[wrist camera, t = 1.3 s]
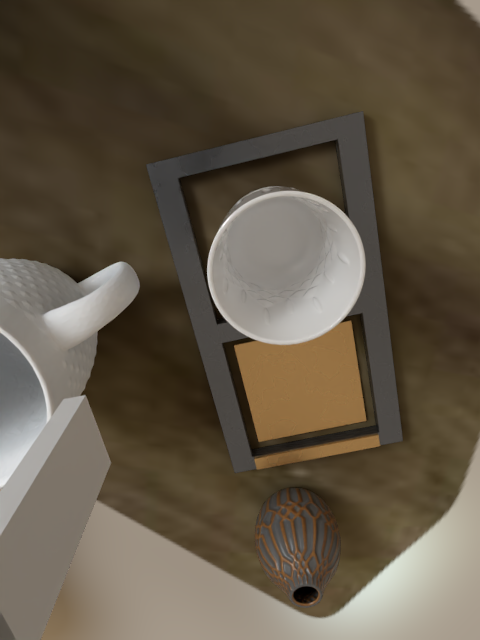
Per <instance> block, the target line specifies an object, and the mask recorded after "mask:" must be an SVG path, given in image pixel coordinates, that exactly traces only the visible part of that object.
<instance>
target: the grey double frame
mask: <svg viewBox="0 0 480 640" xmlns="http://www.w3.org/2000/svg"><path fill="white" fill-rule="evenodd" d="M332 140H335V144H336V151H337V158H338V165H339V172H340V179H341V186H342V193H343V200H344V207H345V213H346V216H347V217H348V218H349V219H350V220H351V222H352V223H353V225H354V226H355V228H356V229H357V231H358V233H359V236H360V238H361V241H362V244H363V247H364V252H365V261H366V268H365V278H364V283H363V286H362V290H361V292H360V295H359V297H358V299H357V301H356V303H355V305H354V306H353V308H352V309H351V311H350V312H349V313H348V315H347V316H351V315H356V314H360V317H361V324H362V331H363V338H364V345H365V352H366V359H367V366H368V373H369V380H370V387H371V394H372V401H373V408H374V415H375V422H376V425H375V426H370V427H365V428H360V429H354V430H349V431H344V432H339V433H334V434H329V435H324V436H318V437H313V438H308V439H303V440H298V441H293V442H288V443H282V444H277V445H272V446H267V447H262V448H257V449H251V445H250V441H249V437H248V433H247V430H246V426H245V422H244V418H243V415H242V411H241V407H240V403H239V400H238V396H237V392H236V388H235V384H234V381H233V377H232V373H231V369H230V366H229V362H228V358H227V354H226V351H225V347H224V342H229V341H234V340H238V339H243V338H248V336H246V335H244V334H242V333H241V332H239V331H238V330H236V329H235V328H234V327H233V326H232V325H230V324H229V323H228V322H227V320H226V319H225V318H224V319H219V320H217V317H216V313H215V309H214V305H213V302H212V298H211V294H210V290H209V286H208V283H207V279H206V275H205V271H204V268H203V264H202V260H201V256H200V253H199V249H198V245H197V241H196V237H195V234H194V230H193V226H192V222H191V219H190V215H189V211H188V207H187V204H186V200H185V196H184V192H183V188H182V185H181V181H180V177H184V176H188V175H193V174H197V173H201V172H205V171H209V170H213V169H217V168H221V167H225V166H230V165H234V164H238V163H242V162H246V161H250V160H254V159H258V158H262V157H267V156H271V155H275V154H279V153H283V152H287V151H291V150H295V149H299V148H304V147H308V146H312V145H316V144H320V143H324V142H328V141H332ZM146 166H147V170H148V173H149V177H150V180H151V183H152V187H153V190H154V194H155V197H156V201H157V204H158V208H159V211H160V215H161V218H162V222H163V225H164V229H165V232H166V236H167V239H168V243H169V246H170V250H171V253H172V256H173V260H174V263H175V267H176V270H177V274H178V277H179V281H180V284H181V288H182V291H183V295H184V298H185V302H186V305H187V309H188V312H189V316H190V319H191V322H192V326H193V329H194V333H195V336H196V340H197V343H198V347H199V350H200V354H201V357H202V361H203V364H204V368H205V371H206V375H207V378H208V382H209V385H210V389H211V392H212V395H213V399H214V402H215V406H216V409H217V413H218V416H219V420H220V423H221V427H222V430H223V434H224V437H225V441H226V444H227V448H228V451H229V455H230V458H231V461H232V465H233V468H234V472H235V473H238V472H243V471H248V470H254V469H257V470H258V469H263V468H269V467H274V466H279V465H284V464H290V463H295V462H300V461H305V460H310V459H316V458H321V457H326V456H331V455H337V454H342V453H347V452H352V451H358V450H363V449H368V448H373V447H378V446H380V445H384V444H390V443H395V442H400V441H403V438H402V429H401V421H400V413H399V405H398V396H397V388H396V380H395V372H394V363H393V355H392V347H391V338H390V330H389V322H388V314H387V305H386V297H385V289H384V281H383V272H382V264H381V256H380V248H379V239H378V231H377V223H376V215H375V206H374V198H373V190H372V182H371V173H370V165H369V157H368V148H367V140H366V132H365V124H364V115H363V111H362V112H358V113H353V114H349V115H345V116H341V117H337V118H333V119H329V120H325V121H321V122H317V123H313V124H309V125H305V126H301V127H297V128H293V129H289V130H285V131H281V132H276V133H272V134H268V135H264V136H260V137H256V138H252V139H248V140H244V141H240V142H236V143H232V144H228V145H224V146H220V147H216V148H212V149H208V150H204V151H199V152H195V153H191V154H187V155H183V156H179V157H175V158H171V159H167V160H163V161H159V162H155V163H151V164H147V165H146ZM234 348H235V352H236V356H237V359H238V363H239V367H240V371H241V375H242V379H243V383H244V387H245V391H246V395H247V398H248V402H249V406H250V410H251V414H252V418H253V422H254V426H255V430H256V433H257V437H258V441H259V442H261V441H266V440H271V439H276V438H281V437H287V436H292V435H297V434H302V433H307V432H312V431H317V430H322V429H327V428H333V427H338V426H343V425H348V424H353V423H358V422H363V421H366V414H365V408H364V401H363V395H362V388H361V382H360V375H359V368H358V362H357V355H356V349H355V342H354V336H353V329H352V323H351V320H347V321H342V322H340V323H339V324H338V325H337V326H336V327H334V328H333V329H332V330H330V331H329V332H327V333H325V334H324V335H322V336H320V337H318V338H315V339H313V340H310V341H307V342H303V343H299V344H292V345H275V344H268V343H264V342H260V341H257V340H253V341H248V342H243V343H239V344H234Z"/></svg>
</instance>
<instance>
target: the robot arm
mask: <svg viewBox="0 0 480 640" xmlns="http://www.w3.org/2000/svg"><path fill="white" fill-rule="evenodd" d="M110 464H111V461H110V459H109V456H108V453H107V451H106V448H105V445H104V443H103V440H102V437H101V435H100V432H99V429H98V427H97V424H96V421H95V419H94V416H93V413H92V410H91V408H90V405H89V402H88V400H87V397H86V395H83V396H78V397H73V398H67V399H63V401H62V402H61V404H60V405H59V406H58V408H57V409H56V411H55V412H54V414H53V415H52V417H51V418H50V420H49V421H48V423H47V424H46V425H45V427H44V428H43V430H42V431H41V433H40V434H39V436H38V437H37V439H36V440H35V441H34V443H33V444H32V446H31V447H30V449H29V450H28V452H27V453H26V455H25V456H24V458H23V459H22V460H21V462H20V463H19V465H18V466H17V468H16V469H15V471H14V472H13V474H12V475H11V477H10V478H9V479H8V481H7V482H6V484H5V485H4V487H3V488H2V490H1V491H0V640H41V637H42V635H43V632H44V630H45V627H46V625H47V622H48V620H49V617H50V615H51V612H52V609H53V607H54V605H55V602H56V600H57V597H58V594H59V592H60V590H61V587H62V585H63V582H64V579H65V577H66V574H67V572H68V569H69V567H70V564H71V562H72V559H73V557H74V554H75V552H76V549H77V547H78V544H79V541H80V539H81V537H82V534H83V532H84V529H85V527H86V524H87V522H88V519H89V517H90V514H91V512H92V509H93V507H94V504H95V502H96V499H97V497H98V494H99V492H100V489H101V487H102V484H103V481H104V479H105V476H106V474H107V471H108V469H109V466H110Z"/></svg>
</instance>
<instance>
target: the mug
mask: <svg viewBox="0 0 480 640" xmlns="http://www.w3.org/2000/svg"><path fill="white" fill-rule="evenodd" d="M139 287H140V284H139V279H138V277H137V275H136V273H135V271H134V270H133V268H132V267H131V266H130V265H129V264H127V263H125V262H118V263H115V264H113V265H110V266H108V267H107V268H105V269H103V270H101V271H99V272H97V273H95V274H94V275H92V276H90V277H88V278H86V279H85V280H83V281H81V282H79V283H76V282H75V281H74V280H73V279H72V278H70V277H69V276H68V275H67V274H65V273H63V272H62V271H60V270H59V269H57V268H54V267H51V266H49V265H48V264H46V263H40V262H37V261H29V260H26V259H19V260H18V259H0V489H1V488H3V487H4V485H5V484H6V482H7V481H8V479H9V478H10V477H11V475H12V474H13V472H14V471H15V469H16V468H17V466H18V465H19V463H20V462H21V460H22V459H23V458H24V456H25V455H26V453H27V452H28V450H29V449H30V447H31V446H32V444H33V443H34V441H35V440H36V439H37V437H38V436H39V434H40V433H41V431H42V430H43V428H44V427H45V425H46V424H47V423H48V421H49V420H50V418H51V417H52V415H53V414H54V412H55V411H56V409H57V408H58V406H59V405H60V404H61V402H62V401H63V399H67V398H73V397H78V396H80V395H81V393H82V392H83V391H84V389H85V386H86V383H87V381H88V379H89V378H90V374H91V369H92V367H93V365H94V358H95V355H96V346H97V343H98V341H97V335H98V333H97V332H98V330H100V329H101V328H102V327H104V326H105V325H106V324H108V323H109V322H110V321H112V320H113V319H114V318H115V317H117V316H118V315H119V314H120V313H121V312H122V311H123V310H124V309H125V308H126V307H127V306H128V305H129V304H130V303H131V302H132V301H133V300H134V298H135V297H136V295H137V294H138V291H139Z"/></svg>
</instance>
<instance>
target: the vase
mask: <svg viewBox="0 0 480 640" xmlns="http://www.w3.org/2000/svg"><path fill="white" fill-rule="evenodd" d="M255 546H256V551H257V555H258V558H259V561H260V564H261V566H262V568H263V570H264V572H265V573H266V575H267V576H268V577H269V579H270V580H271V581H272V582H273V583H274V584H275V585H276V586H278V587H279V588H280V589H281V590H283V591H284V592H285V593H286V594H287V596H288V598H289V599H290V601H291V602H292V603H293V604H294V605H296V606H298V607H304V608H306V607H312V606H314V605H316V604H318V603H319V602H320V601H321V599H322V596H323V593H324V589H325V587H326V586H327V584H328V583H329V582H330V580H331V579H332V577H333V576H334V574H335V572H336V570H337V567H338V564H339V560H340V552H341V540H340V533H339V529H338V525H337V522H336V520H335V517H334V515H333V513H332V511H331V510H330V508H329V507H328V505H327V504H326V503H325V502H324V501H323V500H322V499H321V498H320V497H319V496H318V495H316V494H315V493H313V492H311V491H309V490H306V489H303V488H286V489H283V490H280V491H278V492H276V493H274V494H273V495H272V496H270V497H269V498H268V499H267V500H266V501H265V503H264V504H263V506H262V508H261V509H260V512H259V514H258V517H257V521H256V525H255Z"/></svg>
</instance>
